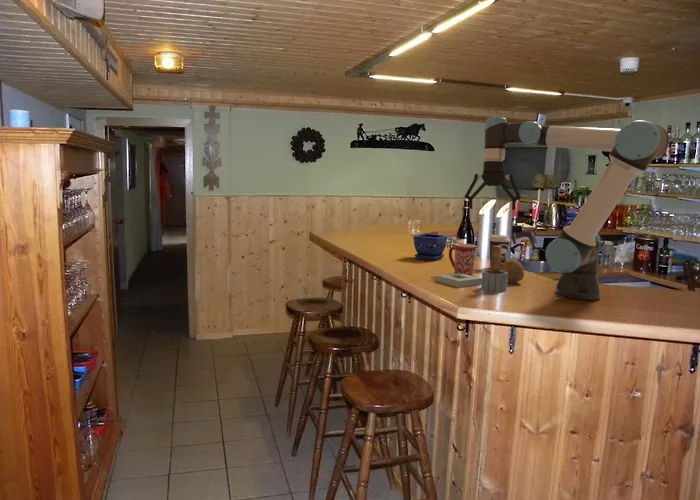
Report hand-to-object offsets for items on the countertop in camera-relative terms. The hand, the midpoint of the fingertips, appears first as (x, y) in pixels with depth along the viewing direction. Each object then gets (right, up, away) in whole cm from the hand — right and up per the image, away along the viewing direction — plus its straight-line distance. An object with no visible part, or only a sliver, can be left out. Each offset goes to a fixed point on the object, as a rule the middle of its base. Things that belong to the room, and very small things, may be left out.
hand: (491, 218), depth 203 cm
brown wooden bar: (+1, -26, -1) cm, 26 cm away
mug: (-6, -23, +25) cm, 35 cm away
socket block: (-11, -25, +8) cm, 28 cm away
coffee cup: (+15, -21, +47) cm, 53 cm away
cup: (+1, -27, -1) cm, 27 cm away
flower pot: (-13, -17, +68) cm, 71 cm away
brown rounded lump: (+11, -25, +13) cm, 31 cm away
